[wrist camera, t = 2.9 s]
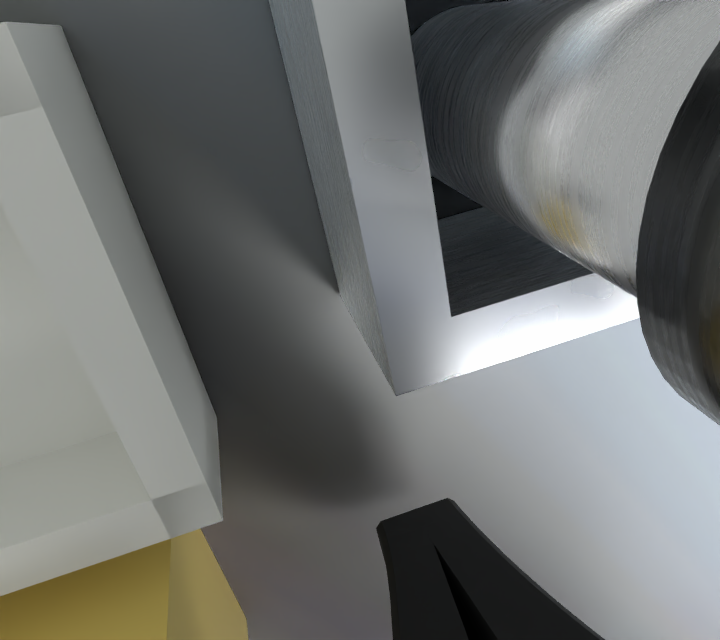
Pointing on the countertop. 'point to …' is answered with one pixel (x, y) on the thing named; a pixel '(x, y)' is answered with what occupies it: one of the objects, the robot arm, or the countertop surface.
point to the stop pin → (594, 149)
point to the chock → (131, 599)
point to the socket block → (417, 212)
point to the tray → (85, 342)
